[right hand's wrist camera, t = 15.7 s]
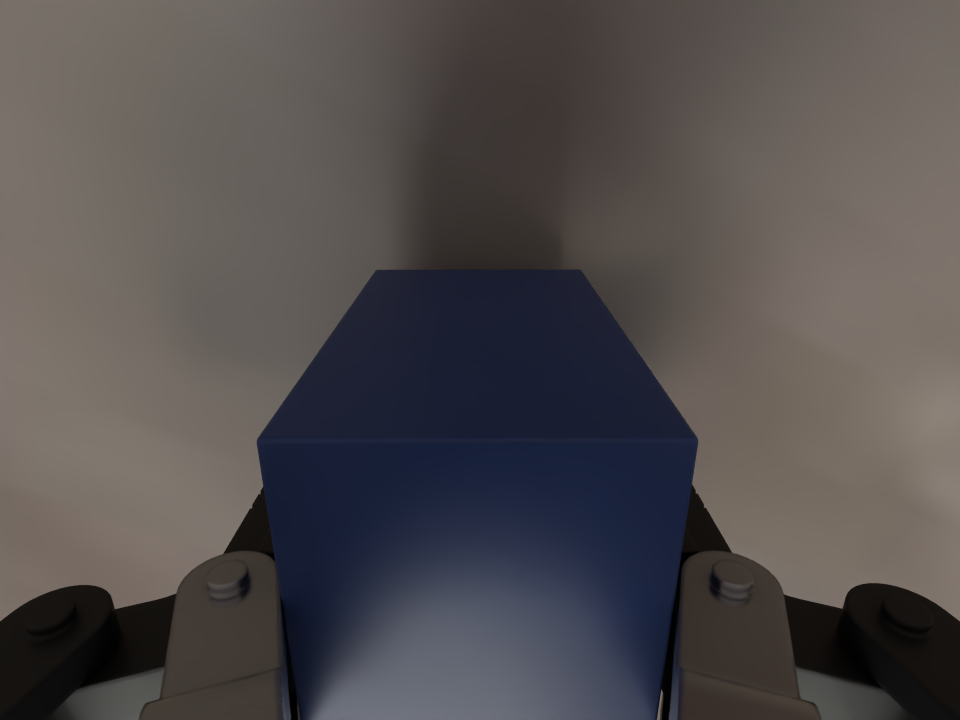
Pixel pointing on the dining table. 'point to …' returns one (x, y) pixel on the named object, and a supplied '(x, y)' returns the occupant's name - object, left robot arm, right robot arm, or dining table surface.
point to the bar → (477, 505)
